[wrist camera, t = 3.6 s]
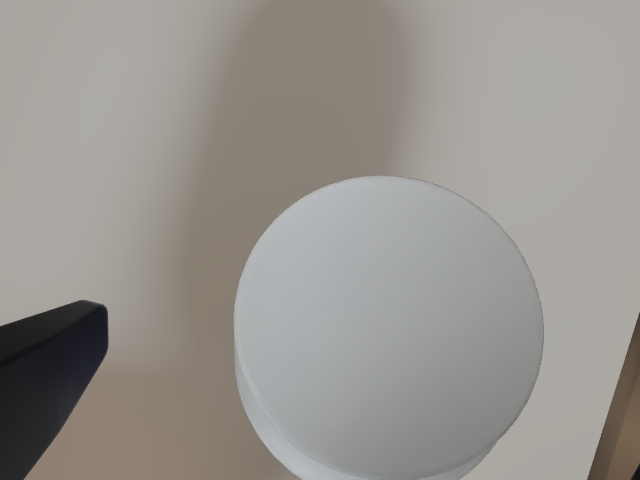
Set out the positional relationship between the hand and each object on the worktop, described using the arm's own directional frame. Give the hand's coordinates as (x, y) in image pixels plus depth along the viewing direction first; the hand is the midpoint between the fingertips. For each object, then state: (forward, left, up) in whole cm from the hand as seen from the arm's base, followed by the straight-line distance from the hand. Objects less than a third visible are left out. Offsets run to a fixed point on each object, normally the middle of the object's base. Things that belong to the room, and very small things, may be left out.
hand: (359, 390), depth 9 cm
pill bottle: (+1, 0, -9) cm, 9 cm away
